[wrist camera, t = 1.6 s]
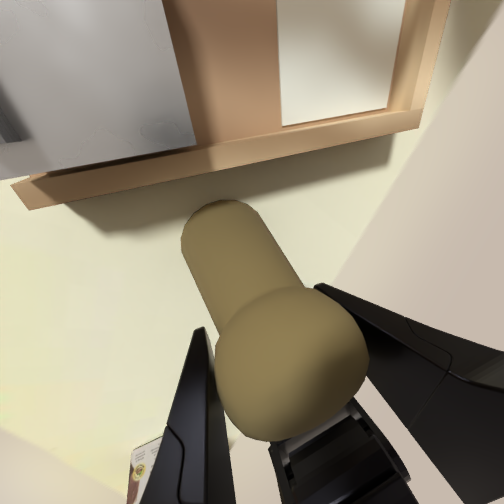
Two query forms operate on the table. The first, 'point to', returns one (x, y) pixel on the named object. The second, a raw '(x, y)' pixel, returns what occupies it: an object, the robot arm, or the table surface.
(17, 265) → the table surface
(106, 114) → the gray slider block
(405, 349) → the robot arm
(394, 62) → the frame
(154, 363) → the table surface
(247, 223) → the olive pawn
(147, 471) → the coffee box
